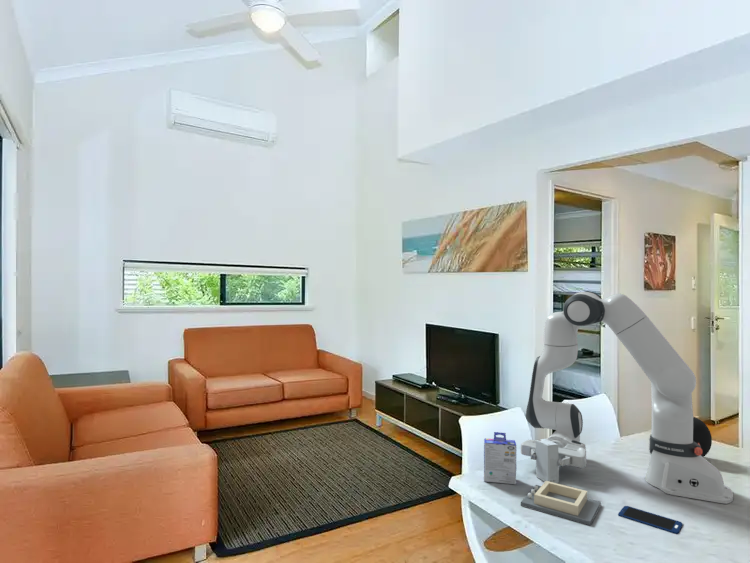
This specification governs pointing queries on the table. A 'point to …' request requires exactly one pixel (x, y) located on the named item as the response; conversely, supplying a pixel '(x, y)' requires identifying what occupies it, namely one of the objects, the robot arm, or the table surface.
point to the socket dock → (562, 502)
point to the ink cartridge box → (500, 460)
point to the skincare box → (547, 461)
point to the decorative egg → (702, 435)
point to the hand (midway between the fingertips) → (546, 460)
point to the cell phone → (651, 519)
